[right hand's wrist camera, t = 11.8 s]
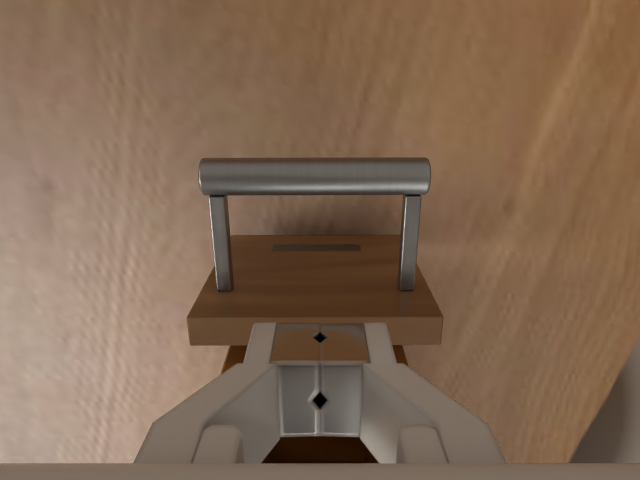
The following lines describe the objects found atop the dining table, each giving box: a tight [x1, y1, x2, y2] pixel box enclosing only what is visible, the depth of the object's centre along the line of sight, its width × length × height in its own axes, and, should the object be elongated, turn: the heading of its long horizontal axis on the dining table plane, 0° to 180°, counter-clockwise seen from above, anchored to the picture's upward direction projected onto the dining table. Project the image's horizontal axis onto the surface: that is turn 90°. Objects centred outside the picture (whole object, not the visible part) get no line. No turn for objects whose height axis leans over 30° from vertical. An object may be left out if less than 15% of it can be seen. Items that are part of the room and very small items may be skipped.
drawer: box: [187, 158, 443, 463], centre depth 22 cm, size 21×9×9 cm, turn 0°
